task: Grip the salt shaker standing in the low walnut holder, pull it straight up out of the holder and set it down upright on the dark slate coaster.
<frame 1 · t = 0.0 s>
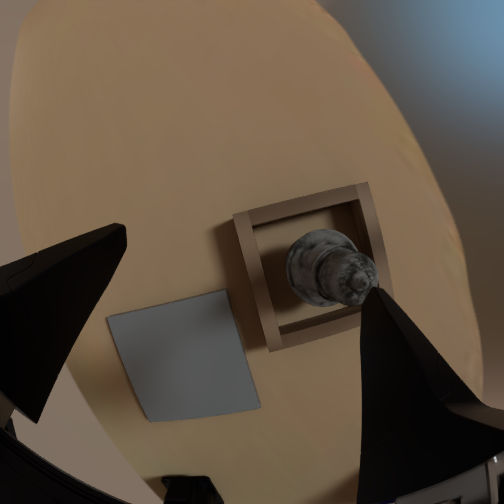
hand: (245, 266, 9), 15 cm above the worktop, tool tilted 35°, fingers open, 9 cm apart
walnut holder: (315, 264, 24), on the worktop
salt shaker: (315, 264, 25), resting in walnut holder
slate coaster: (183, 363, 25), on the worktop
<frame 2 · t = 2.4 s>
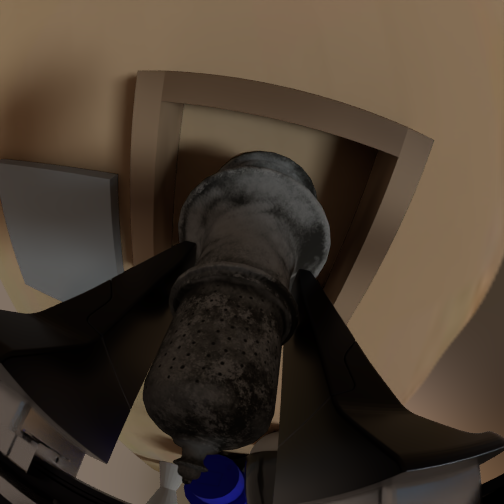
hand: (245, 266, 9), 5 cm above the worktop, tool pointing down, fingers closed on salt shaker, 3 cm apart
lava lamp: (174, 465, 58), on the worktop
walnut holder: (262, 204, 14), on the worktop
salt shaker: (263, 202, 14), resting in walnut holder, touching gripper
slate coaster: (58, 240, 17), on the worktop
alarm clock: (227, 455, 41), on the worktop
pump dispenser: (289, 435, 30), on the worktop
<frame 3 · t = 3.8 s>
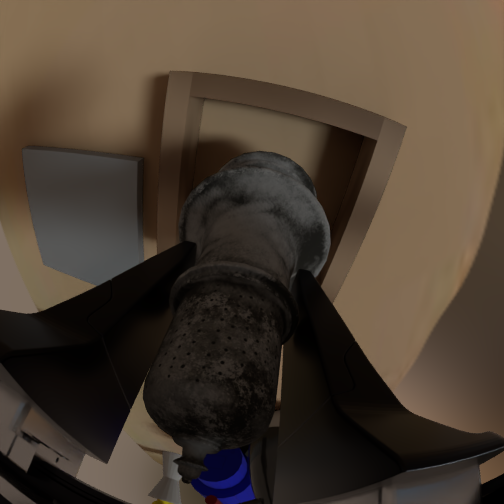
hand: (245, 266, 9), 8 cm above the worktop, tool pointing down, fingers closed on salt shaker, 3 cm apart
lava lamp: (177, 456, 60), on the worktop
walnut holder: (268, 182, 16), on the worktop
salt shaker: (263, 202, 14), point 3 cm above the worktop, touching gripper
slate coaster: (81, 220, 20), on the worktop
alarm clock: (230, 440, 43), on the worktop
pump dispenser: (291, 414, 33), on the worktop
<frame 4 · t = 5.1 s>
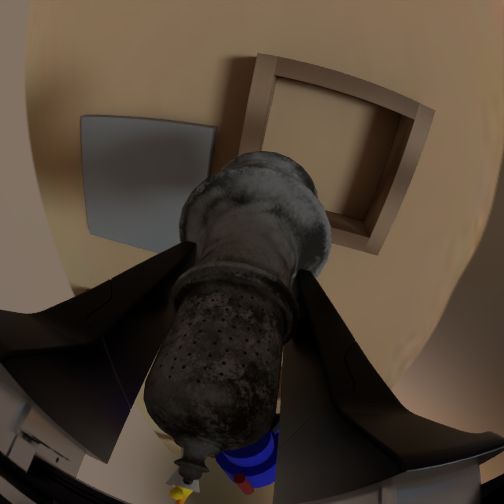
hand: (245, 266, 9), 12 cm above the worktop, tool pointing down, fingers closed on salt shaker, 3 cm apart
lava lamp: (195, 442, 64), on the worktop
walnut holder: (326, 151, 19), on the worktop
salt shaker: (263, 202, 14), point 7 cm above the worktop, touching gripper
slate coaster: (141, 185, 22), on the worktop
alarm clock: (255, 419, 46), on the worktop
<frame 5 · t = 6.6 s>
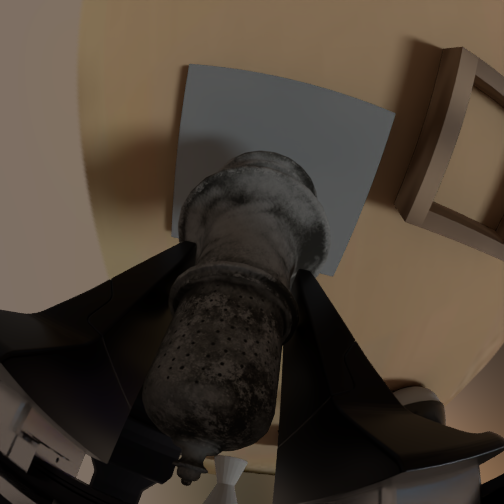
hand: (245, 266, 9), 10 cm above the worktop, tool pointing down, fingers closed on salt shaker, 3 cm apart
lava lamp: (231, 459, 58), on the worktop
walnut holder: (484, 160, 14), on the worktop
salt shaker: (263, 202, 14), point 4 cm above the worktop, touching gripper
slate coaster: (272, 172, 17), on the worktop
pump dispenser: (403, 394, 30), on the worktop
when the fingers open (7 cm above the worktop, at t = 7.7 s): salt shaker drops 1 cm, resting on slate coaster.
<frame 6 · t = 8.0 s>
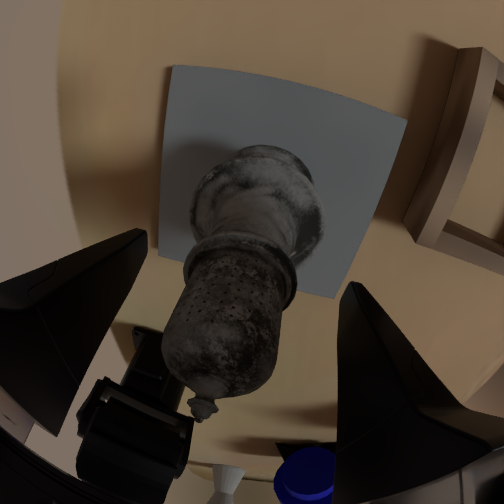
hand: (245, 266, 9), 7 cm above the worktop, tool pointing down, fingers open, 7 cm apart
lava lamp: (229, 467, 56), on the worktop
walnut holder: (499, 172, 12), on the worktop
salt shaker: (265, 191, 15), point 1 cm above the worktop, touching slate coaster
slate coaster: (267, 187, 15), on the worktop
alarm clock: (313, 447, 39), on the worktop
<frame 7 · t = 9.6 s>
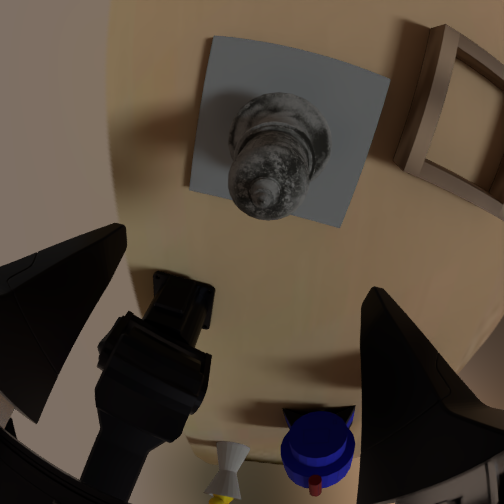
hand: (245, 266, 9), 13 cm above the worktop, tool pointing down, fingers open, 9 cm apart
lava lamp: (233, 445, 60), on the worktop
walnut holder: (472, 124, 15), on the worktop
salt shaker: (282, 131, 18), point 1 cm above the worktop, touching slate coaster
slate coaster: (284, 130, 19), on the worktop
alarm clock: (319, 415, 42), on the worktop
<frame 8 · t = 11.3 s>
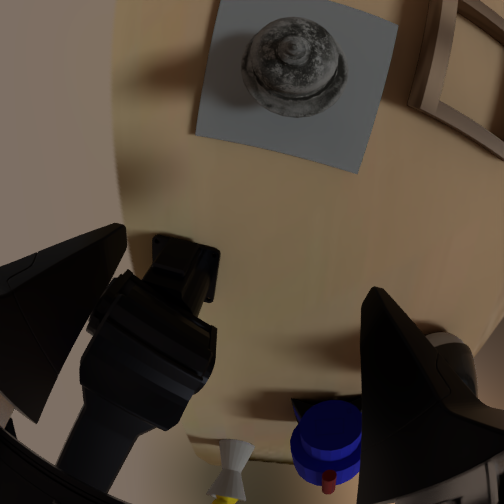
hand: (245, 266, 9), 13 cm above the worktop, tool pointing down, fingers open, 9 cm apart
lava lamp: (236, 444, 57), on the worktop
walnut holder: (480, 75, 13), on the worktop
salt shaker: (295, 71, 16), point 1 cm above the worktop, touching slate coaster
slate coaster: (295, 71, 16), on the worktop
alarm clock: (330, 405, 40), on the worktop
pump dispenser: (426, 345, 29), on the worktop
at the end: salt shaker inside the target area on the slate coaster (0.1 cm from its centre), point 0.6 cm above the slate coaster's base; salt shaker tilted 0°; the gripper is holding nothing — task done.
